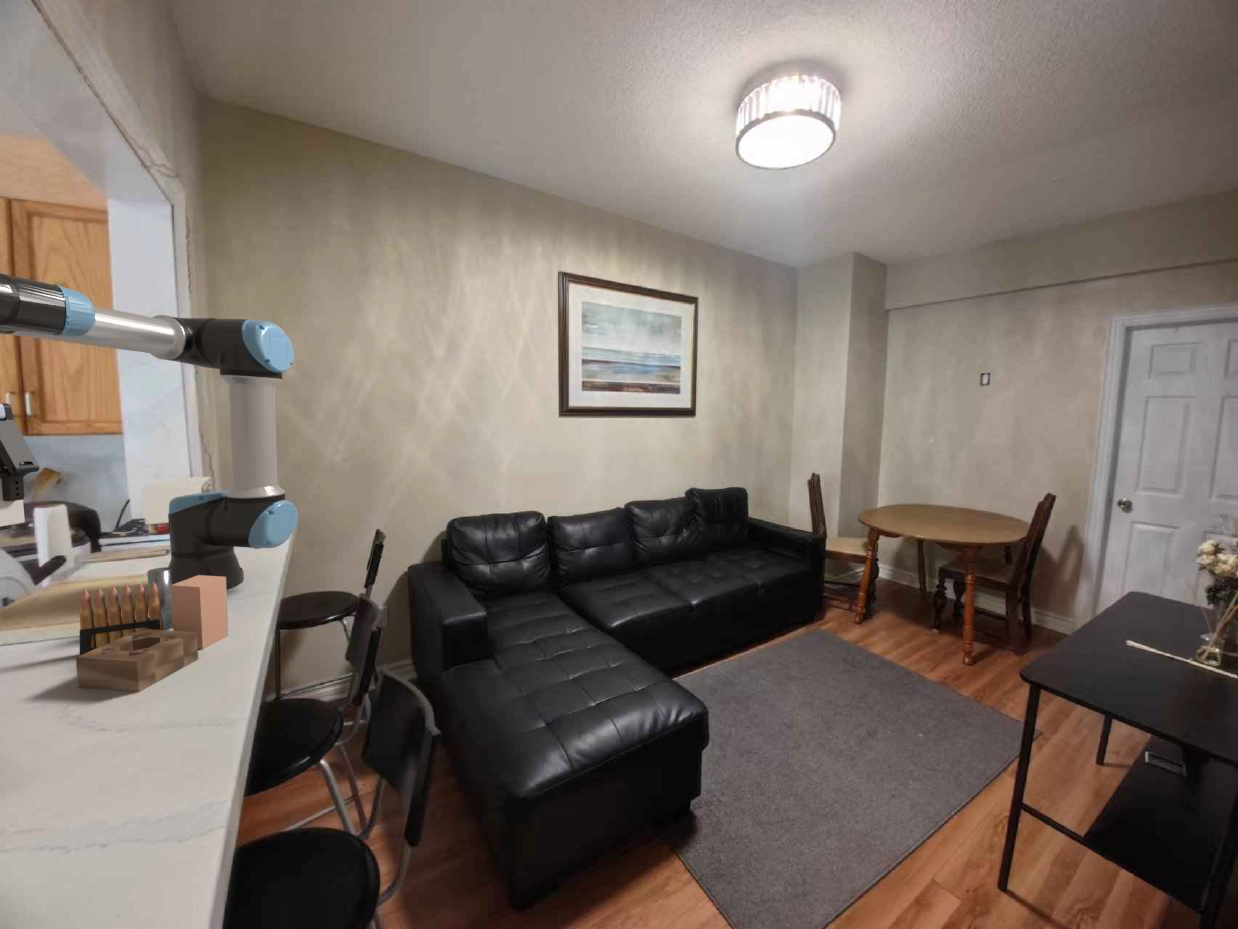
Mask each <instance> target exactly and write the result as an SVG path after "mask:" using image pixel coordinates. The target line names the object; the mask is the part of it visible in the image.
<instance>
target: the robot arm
mask: <svg viewBox="0 0 1238 929" xmlns="http://www.w3.org/2000/svg"><path fill="white" fill-rule="evenodd" d="M0 334H2V335H8V336H9V335H11V336H17V337H25V338H33V339H41V340H47V341H55V342H63V343H69V344H71V343H72V344H78V345H85V346H94V347H100V348H109V349H117V350H124V351H132V352H139V353H145V354H146V353H147V354H150V355H151V356H153V357H154V358H156V359H158V360H163V361H171V362H177V363H178V362H179V363H183V364H187V365H193V366H197V367H203V368H207V369H213V370H219V377H220V378H221V379H223V380H224V381H225V382H226V383H227V384H228V390H229V391H228V392H229V417H230V419H229V420H230V445H231V446H230V448H231V450H230V451H231V472H232V473H231V474H232V476H231V478H232V486H231V488H230V489H228V490H215V491H206V492H200V493H191V494H186V495H181V496H177V497H176V496H175V497H173V498H172V499H171V500H170V501H169V504H168V513H167V517H168V520H167V521H168V532H169V533H168V534H169V541H170V542H169V543H170V562H169V564H168V567H169V568H171V572H172V585H173V584H176V583H178V582H181V581H184V580H187V579H189V578H192V577H195V576H198V575H205V576H221V577H226V589H227V590H228V589H231V588H233V587H236V586H238V585H240V584H241V583H243V582H244V580H245V576H244V574H245V572H244V569H243V568H242V567H241V565H240V563H239V559H238V557H237V554H236V553H235V548H251V549H254V550H257V549H258V550H260V549H273V548H277V547H280V546H282V545H283V544H284V543H285V542H287V541H288V540H289V539H290V537H291V535H293V533H294V531H295V530H296V527H297V522H298V518H299V513H298V510H297V507H296V506H295V504H294V503H293V502H291V501H290V500H286V490H284V489H283V488H282V487H281V486H279V484H278V452H277V450H278V449H277V448H278V447H277V420H276V419H277V417H276V416H277V415H276V386H278V385H279V384H280V383H282V381H283V373H285V372H287V371H289V370H290V369H291V368H292V365H293V364H294V360H295V352H294V351H295V350H294V348H293V344H292V342H291V340H290V337H289V336H288V335H287V334H286V333H285V331H284V330H283V329H282V328H281V327H280V326H278V325H277V324H275V323H273V322H270V321H266V320H258V319H252V318H248V319H247V318H246V319H243V318H242V319H240V318H215V317H202V318H201V317H200V318H199V317H175V316H172V315H171V316H170V315H164V314H157V315H154V316H147V315H141V314H136V313H131V312H128V311H127V312H126V311H121V310H116V309H111V308H108V307H104V306H103V307H102V306H96V305H94V304H93V302H92V301H91V300H90V299H89V298H88V297H87V295H85V294H83V293H82V292H81V291H78V290H75V289H70V288H67V287H64V286H61V285H59V284H56V283H54V284H52V283H46V282H42V281H36V280H33V279H29V278H23V277H19V276H13V275H9V274H5V273H0ZM39 471H40V464H39V463H38V461H37V460H36V457H35V456H34V454H33V452H32V451H31V448H30V446H29V445H28V443H27V441H26V439H25V438H24V436H23V434H22V432H21V431H20V428H19V427H18V425H17V423H16V422H15V419H14V414H13V409H12V406H11V405H10V403H8V402H7V403H5V402H4V403H2V402H0V527H4V526H10V525H17V524H21V523H22V524H23V523H25V522H26V520H25V518H26V517H25V508H24V499H25V483H24V477H25V476H27V474H31V473H36V472H39Z"/></svg>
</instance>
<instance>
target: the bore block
mask: <svg viewBox="0 0 1238 929" xmlns="http://www.w3.org/2000/svg"><path fill="white" fill-rule="evenodd" d="M198 650H199V649H198V645H197V632H184V631H173V630H170V629H169V630H154V629H141V630H138V631H136V632H134V633H131V634H129V635H127V636H124V637H122V638H120V639H118V640H115V641H113V642H111V643H108V644H106V645H104V646H101V647H99V648H97V649H94V650H92V651H90V652H87V653H85V654H83V655H80V654H79V655H78V656H76V657H75V661H76V663H75V664H76V676H77V688H82V689H95V690H109V691H110V690H111V691H122V692H123V691H125V692H134V693H135V692H137V693H140V692H142V691H143V690H145V689H146V688H148V687H150V686H153V685H155V684H156V683H158V682H159V681H161V680H163V679H165V678H167V677H168V676H170V675H172V674H174V673H175V672H177V671H180V670H181V669H183V668H185V667H187V666H188V665H191V664H193V663H194V662H196V661H197V660H199V651H198Z"/></svg>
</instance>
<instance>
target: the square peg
mask: <svg viewBox="0 0 1238 929" xmlns="http://www.w3.org/2000/svg"><path fill="white" fill-rule="evenodd" d="M227 590H228V589H226V577H221V576H205V575H198V576H195V577H192V578H189V579H187V580H184V581H181V582H178V583H176V584H173V585H171V599H172V617H173V628H172V631H184V632H197V645H198V650H205V649H206V648H208V647H211V646H212V645H214V644H216V643H218V642H220V641H222V640H223V639H225V638H226V637H228V636H229V620H228V619H229V618H228V595H227V594H228V593H227ZM217 641H218V642H217Z"/></svg>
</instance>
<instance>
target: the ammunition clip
mask: <svg viewBox="0 0 1238 929" xmlns="http://www.w3.org/2000/svg"><path fill="white" fill-rule="evenodd" d="M108 594H109V595H108V609H107V606H106V600H105V594H104V592H103V590H102V589H101V588H100V587H98V588H97V590H96V591H95V594H94V595H95V596H94V610H93V607H92V600H91V597H90V594H89V592H88V590H86V589H83V591H82V592H81V596H80V610H79V627H80V629H79V656H80V655H83V654H85V653H87V652H90V651H92V650H94V649H97V648H99V647H101V646H104V645H106V644H108V643H111V642H113V641H115V640H118V639H120V638H122V637H124V636H127V635H129V634H131V633H134V632H136V631H138V630H141V629H154V630H164V629H163V621H162V616H161V604H160V601H159V594H158V589H157V586H156V584H155V583H154V582H153V583H152V585H151V588H150V598H149V597H148V603H149V604H147V598H146V591H145V589H144V586H143V584H142V583H139V584H138V586H137V588H136V593H135V598H136V599H135V606H134V603H133V602H134V601H133V596H132V591H131V588H130V586H128V585H127V584H126V585H124V588H123V591H122V597H121V598H122V603H121V604H122V605H121V606H120V601H119V600H120V599H119V595H118V591H117V589H116V588H115V586H111V588H110V589H109V593H108Z"/></svg>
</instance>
